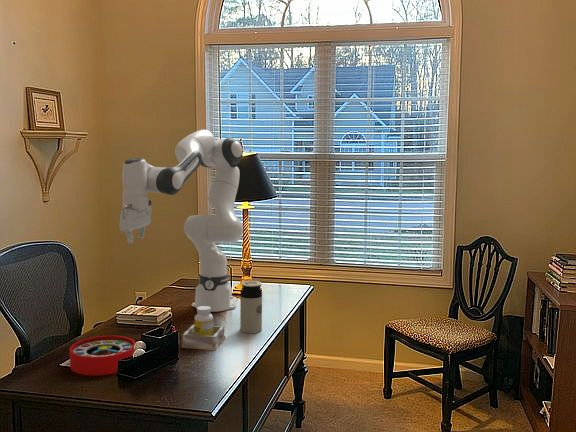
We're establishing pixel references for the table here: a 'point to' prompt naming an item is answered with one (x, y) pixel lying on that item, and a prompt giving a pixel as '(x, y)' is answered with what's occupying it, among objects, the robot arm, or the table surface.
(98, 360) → the toy clock
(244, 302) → the travel mug
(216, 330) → the grey square tray
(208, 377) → the table surface
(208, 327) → the pill bottle
